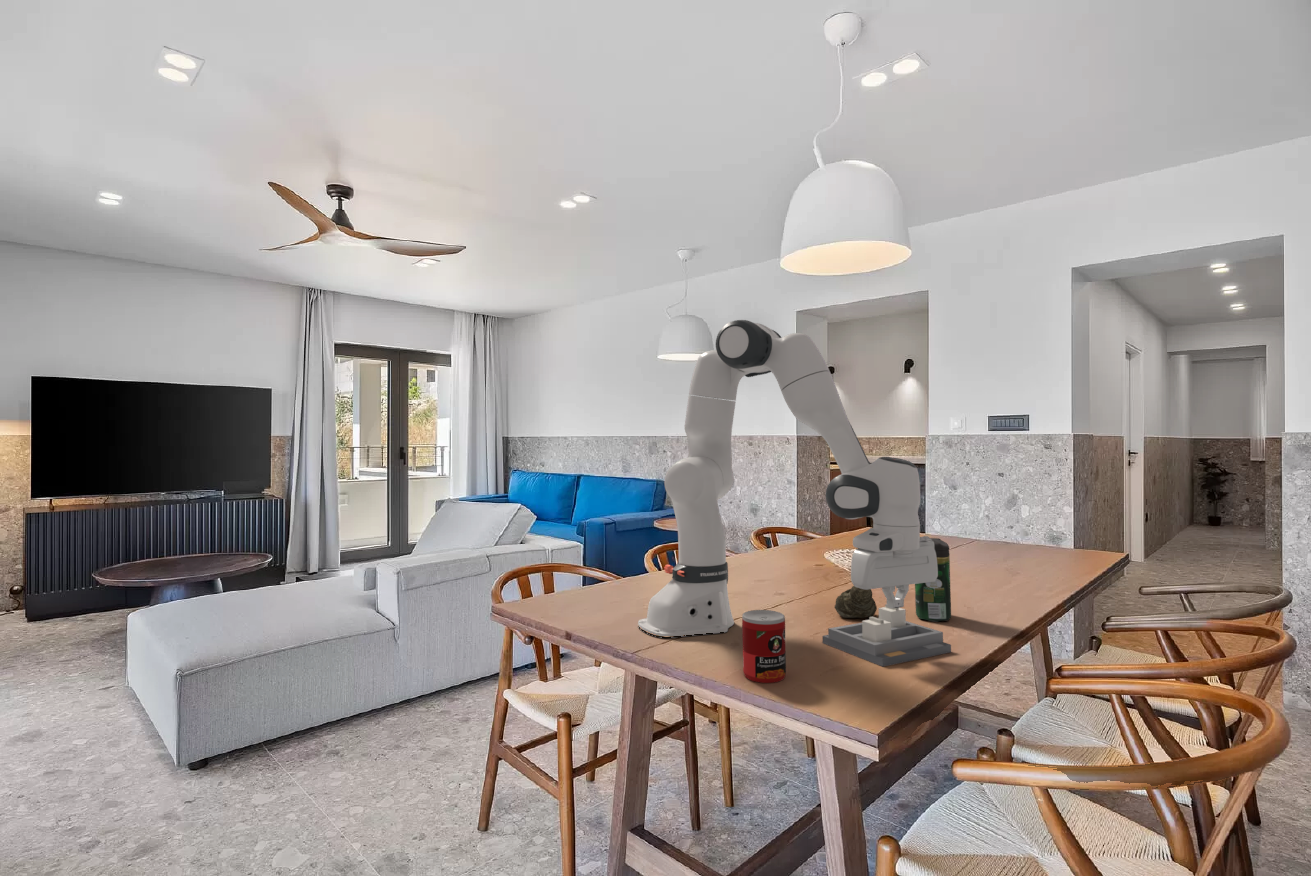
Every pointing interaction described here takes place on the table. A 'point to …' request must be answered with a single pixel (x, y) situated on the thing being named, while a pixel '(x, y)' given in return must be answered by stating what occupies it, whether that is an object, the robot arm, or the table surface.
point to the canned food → (764, 646)
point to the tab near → (876, 630)
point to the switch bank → (889, 643)
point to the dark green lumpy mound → (856, 603)
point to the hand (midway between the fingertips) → (895, 607)
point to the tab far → (893, 616)
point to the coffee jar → (936, 588)
